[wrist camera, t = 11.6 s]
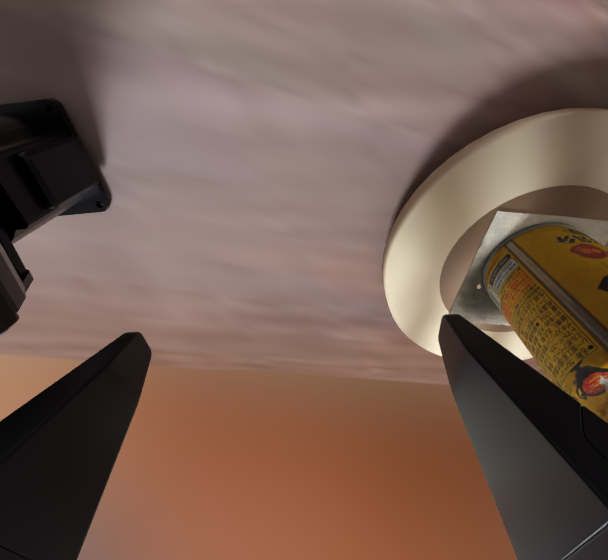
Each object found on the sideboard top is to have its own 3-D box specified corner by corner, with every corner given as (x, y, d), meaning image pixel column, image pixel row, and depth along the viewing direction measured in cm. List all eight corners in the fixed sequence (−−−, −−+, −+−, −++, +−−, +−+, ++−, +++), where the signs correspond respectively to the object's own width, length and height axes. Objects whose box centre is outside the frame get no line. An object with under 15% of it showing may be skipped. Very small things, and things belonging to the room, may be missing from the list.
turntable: (378, 353, 27) (381, 368, 26) (387, 128, 17) (393, 134, 16) (602, 343, 26) (616, 357, 25) (764, 86, 15) (803, 89, 14)
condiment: (620, 220, 18) (977, 417, 8) (542, 327, 23) (708, 528, 13) (495, 209, 18) (709, 395, 8) (443, 318, 23) (539, 517, 13)
